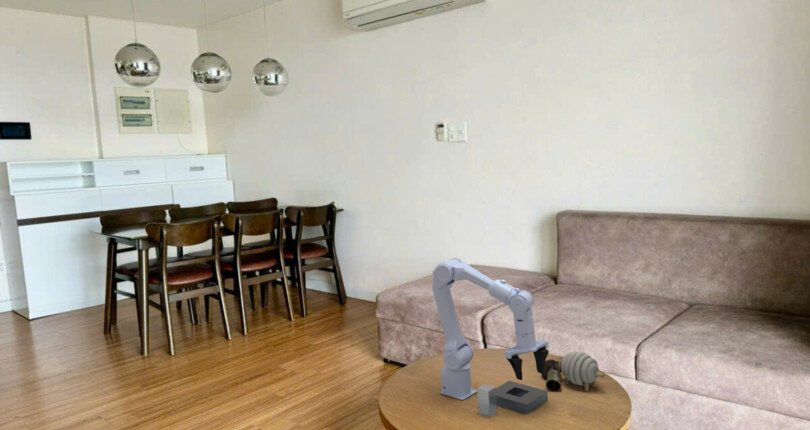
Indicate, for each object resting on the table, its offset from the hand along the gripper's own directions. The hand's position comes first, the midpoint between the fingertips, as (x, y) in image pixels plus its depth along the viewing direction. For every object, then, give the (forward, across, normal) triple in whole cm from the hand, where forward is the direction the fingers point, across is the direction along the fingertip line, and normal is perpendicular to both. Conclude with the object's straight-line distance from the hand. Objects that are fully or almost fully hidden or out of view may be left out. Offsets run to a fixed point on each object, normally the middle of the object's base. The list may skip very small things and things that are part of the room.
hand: (530, 375), depth 169 cm
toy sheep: (+11, +23, +6) cm, 26 cm away
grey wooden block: (+9, -13, +5) cm, 17 cm away
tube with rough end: (+10, +18, +14) cm, 25 cm away
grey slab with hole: (+10, -1, +6) cm, 12 cm away
